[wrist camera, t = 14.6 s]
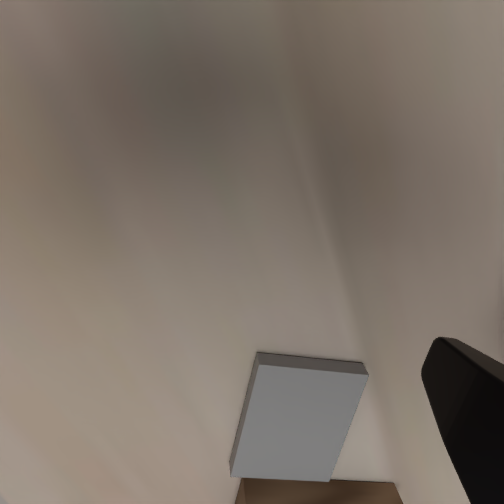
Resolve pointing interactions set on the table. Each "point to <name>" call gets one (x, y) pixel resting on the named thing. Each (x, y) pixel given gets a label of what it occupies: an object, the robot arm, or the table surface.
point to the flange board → (315, 492)
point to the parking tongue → (296, 417)
